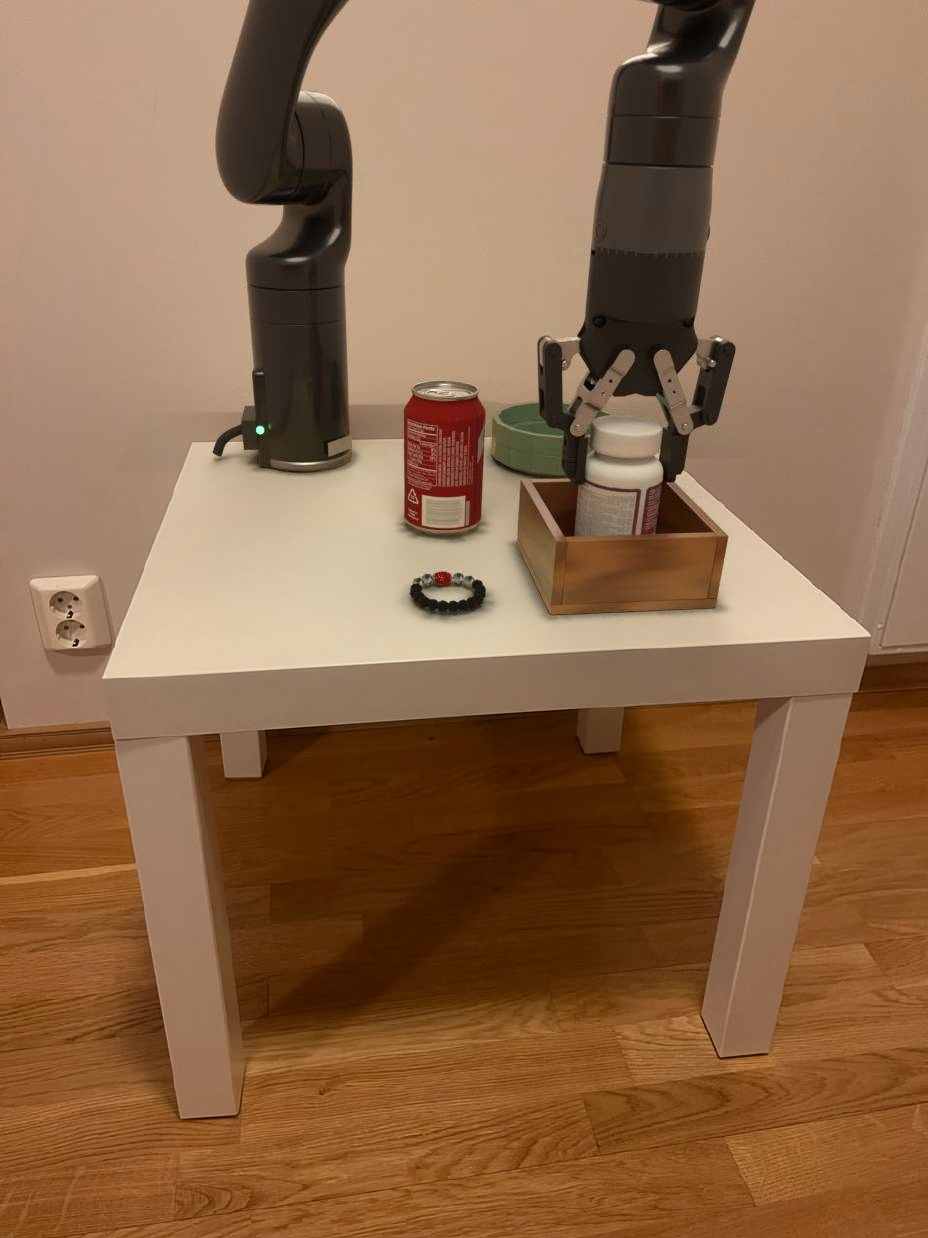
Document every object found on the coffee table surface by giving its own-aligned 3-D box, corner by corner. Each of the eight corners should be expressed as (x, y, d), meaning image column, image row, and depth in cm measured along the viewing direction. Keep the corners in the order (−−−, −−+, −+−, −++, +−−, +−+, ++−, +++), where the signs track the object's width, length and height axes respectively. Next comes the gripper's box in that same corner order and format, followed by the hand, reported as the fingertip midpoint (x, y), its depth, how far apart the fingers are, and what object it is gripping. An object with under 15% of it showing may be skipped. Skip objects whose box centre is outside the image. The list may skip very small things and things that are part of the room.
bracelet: (479, 578, 70) (479, 567, 70) (492, 613, 65) (493, 601, 65) (405, 582, 69) (405, 570, 69) (414, 617, 64) (414, 604, 64)
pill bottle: (625, 545, 75) (642, 409, 70) (665, 576, 70) (686, 432, 64) (558, 553, 73) (570, 415, 68) (593, 586, 68) (609, 439, 63)
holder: (550, 615, 65) (556, 541, 63) (516, 544, 76) (520, 478, 74) (716, 608, 67) (729, 535, 64) (660, 540, 78) (669, 475, 75)
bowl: (504, 482, 90) (506, 438, 88) (482, 441, 101) (484, 401, 99) (632, 479, 92) (637, 436, 89) (597, 439, 103) (601, 400, 101)
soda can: (472, 544, 76) (478, 402, 70) (395, 535, 77) (394, 395, 72) (487, 514, 82) (493, 381, 76) (414, 507, 83) (415, 375, 77)
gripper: (729, 236, 64) (694, 462, 72) (530, 233, 62) (517, 466, 70) (775, 249, 58) (731, 496, 66) (555, 246, 56) (537, 501, 64)
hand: (620, 479), depth 68 cm, fingers open, 6 cm apart
